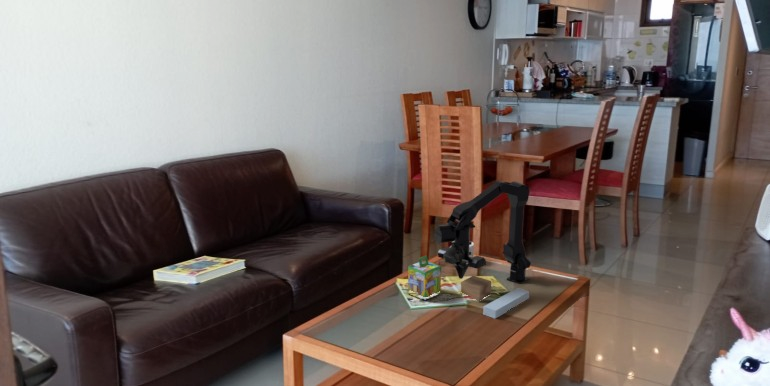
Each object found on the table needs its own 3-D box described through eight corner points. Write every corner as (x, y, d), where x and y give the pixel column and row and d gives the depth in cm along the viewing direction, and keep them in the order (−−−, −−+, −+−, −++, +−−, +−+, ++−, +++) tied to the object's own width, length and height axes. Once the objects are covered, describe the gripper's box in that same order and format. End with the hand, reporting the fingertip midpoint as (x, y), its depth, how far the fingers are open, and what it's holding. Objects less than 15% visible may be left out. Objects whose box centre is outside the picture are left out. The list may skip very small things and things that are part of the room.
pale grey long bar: (517, 295, 236) (517, 287, 235) (528, 299, 233) (529, 291, 232) (483, 314, 221) (483, 306, 220) (495, 318, 217) (495, 310, 217)
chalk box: (425, 301, 231) (425, 264, 227) (407, 294, 237) (407, 257, 233) (441, 294, 237) (442, 257, 234) (423, 287, 244) (423, 251, 240)
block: (472, 290, 241) (473, 275, 240) (490, 295, 236) (491, 281, 235) (460, 296, 235) (461, 282, 234) (479, 302, 230) (479, 287, 229)
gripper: (428, 239, 236) (428, 278, 240) (469, 251, 223) (468, 291, 227) (447, 232, 244) (446, 270, 248) (487, 243, 231) (485, 282, 235)
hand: (460, 278), depth 239 cm, fingers closed
